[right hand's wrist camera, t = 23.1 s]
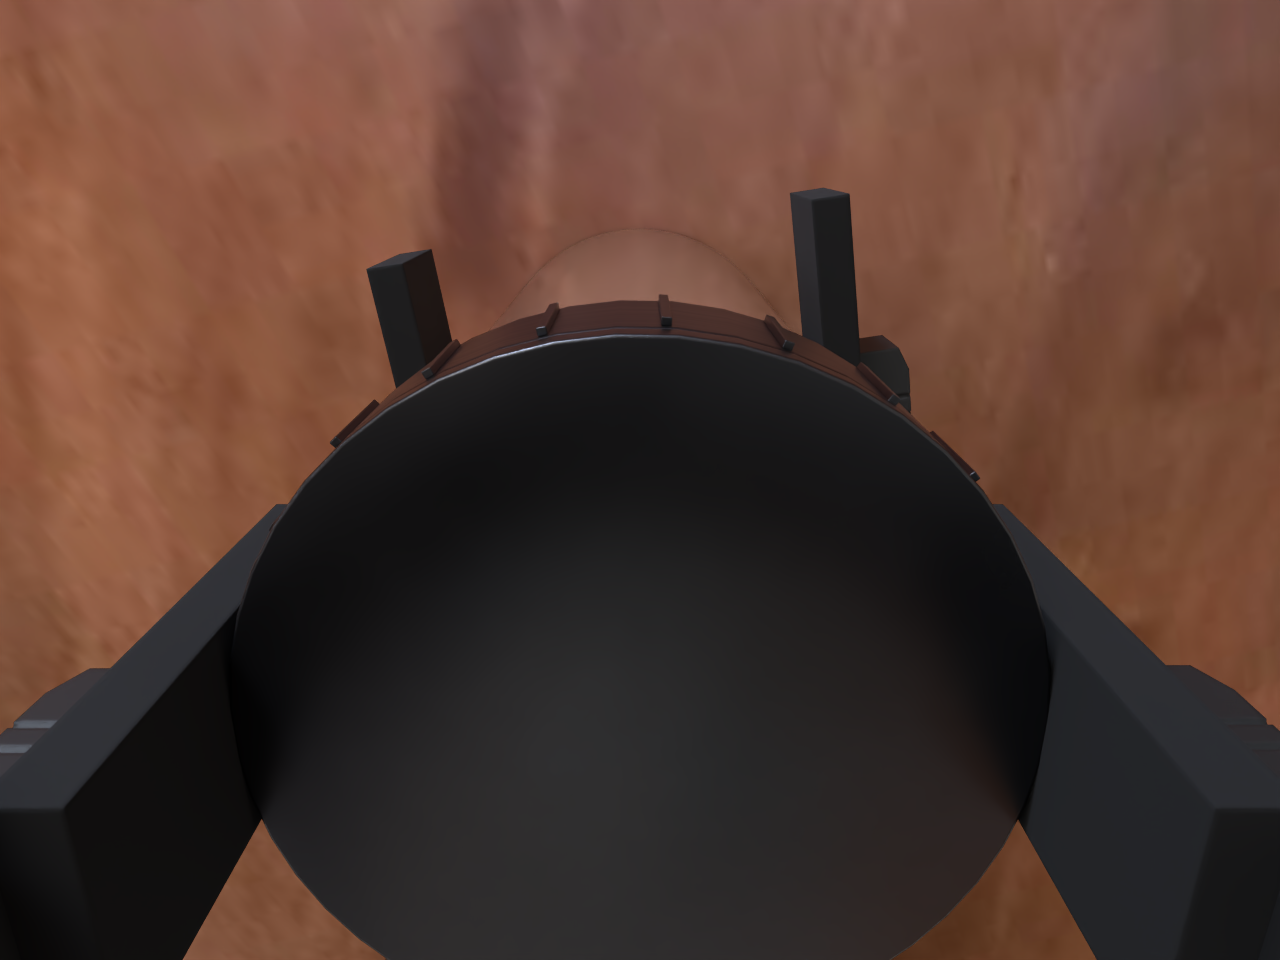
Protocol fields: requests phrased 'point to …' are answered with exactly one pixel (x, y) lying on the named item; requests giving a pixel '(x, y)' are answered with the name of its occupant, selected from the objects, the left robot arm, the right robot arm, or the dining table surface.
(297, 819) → the lid
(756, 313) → the jar
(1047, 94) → the dining table surface
